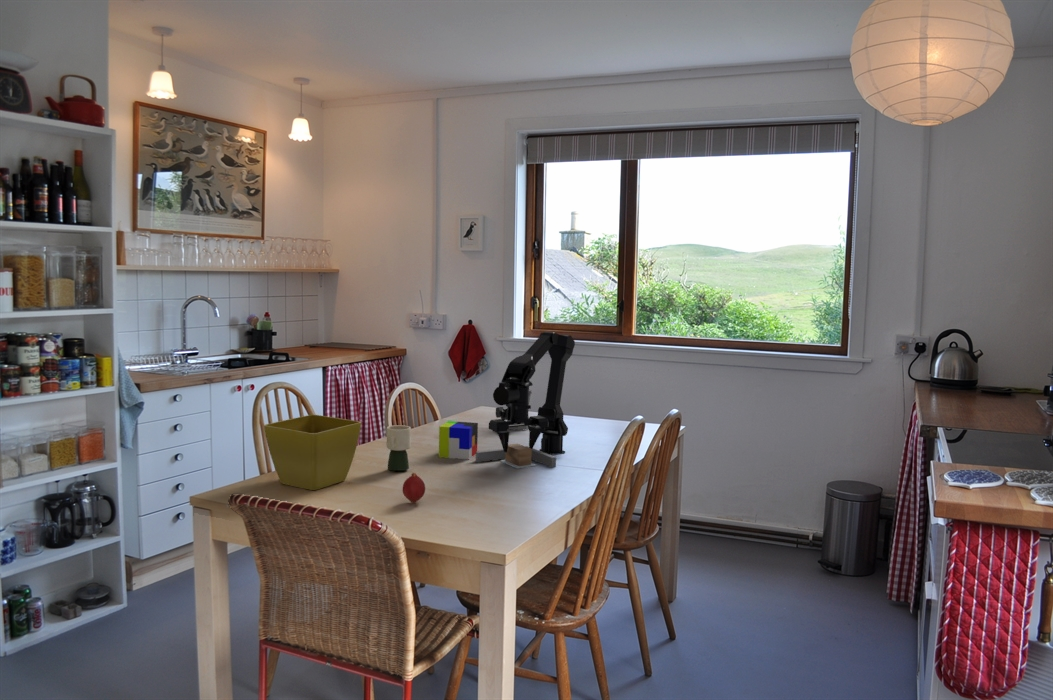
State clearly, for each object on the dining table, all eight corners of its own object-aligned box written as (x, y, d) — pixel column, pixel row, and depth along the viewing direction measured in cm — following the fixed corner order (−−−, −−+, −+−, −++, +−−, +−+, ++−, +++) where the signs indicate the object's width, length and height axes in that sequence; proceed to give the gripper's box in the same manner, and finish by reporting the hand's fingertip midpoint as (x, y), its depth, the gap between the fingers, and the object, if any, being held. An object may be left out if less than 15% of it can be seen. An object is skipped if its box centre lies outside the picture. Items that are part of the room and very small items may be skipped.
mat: (519, 458, 250) (519, 458, 250) (536, 465, 242) (536, 465, 242) (500, 461, 247) (500, 460, 247) (516, 468, 238) (516, 467, 238)
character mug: (393, 465, 238) (394, 423, 237) (416, 467, 237) (416, 424, 235) (379, 474, 228) (380, 430, 226) (402, 475, 226) (403, 431, 225)
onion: (403, 499, 203) (403, 469, 202) (425, 499, 204) (425, 469, 203) (401, 506, 197) (401, 475, 196) (424, 506, 198) (424, 475, 197)
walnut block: (531, 464, 242) (531, 448, 242) (519, 466, 240) (519, 450, 239) (516, 459, 249) (517, 443, 248) (505, 460, 246) (505, 445, 246)
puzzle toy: (468, 459, 248) (469, 428, 247) (438, 457, 250) (439, 426, 249) (477, 452, 258) (477, 422, 257) (448, 450, 260) (448, 421, 259)
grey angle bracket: (526, 455, 256) (527, 446, 256) (555, 466, 242) (556, 457, 241) (475, 461, 246) (475, 451, 246) (502, 473, 232) (502, 463, 231)
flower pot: (313, 496, 204) (313, 433, 202) (262, 484, 213) (261, 424, 211) (362, 480, 220) (363, 421, 219) (312, 470, 230) (312, 414, 228)
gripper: (531, 395, 254) (529, 442, 255) (480, 399, 244) (479, 448, 246) (550, 400, 244) (548, 449, 246) (498, 404, 235) (497, 455, 236)
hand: (518, 450), depth 244 cm, fingers open, 9 cm apart
